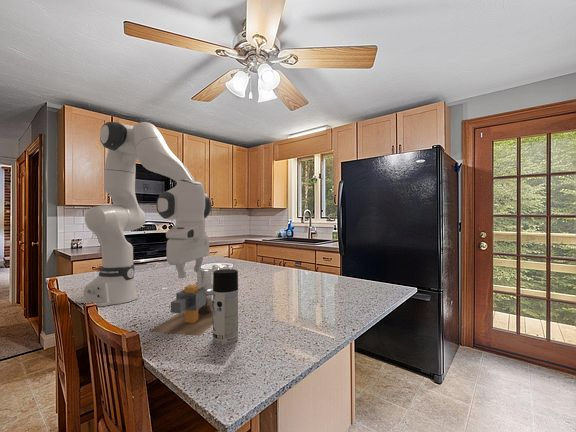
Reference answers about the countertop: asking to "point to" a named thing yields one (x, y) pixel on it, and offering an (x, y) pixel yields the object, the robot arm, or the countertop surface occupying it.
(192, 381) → the countertop surface
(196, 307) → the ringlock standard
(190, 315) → the orange rectangular block
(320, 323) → the countertop surface
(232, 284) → the spray can
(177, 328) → the base board
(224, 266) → the beer glass
